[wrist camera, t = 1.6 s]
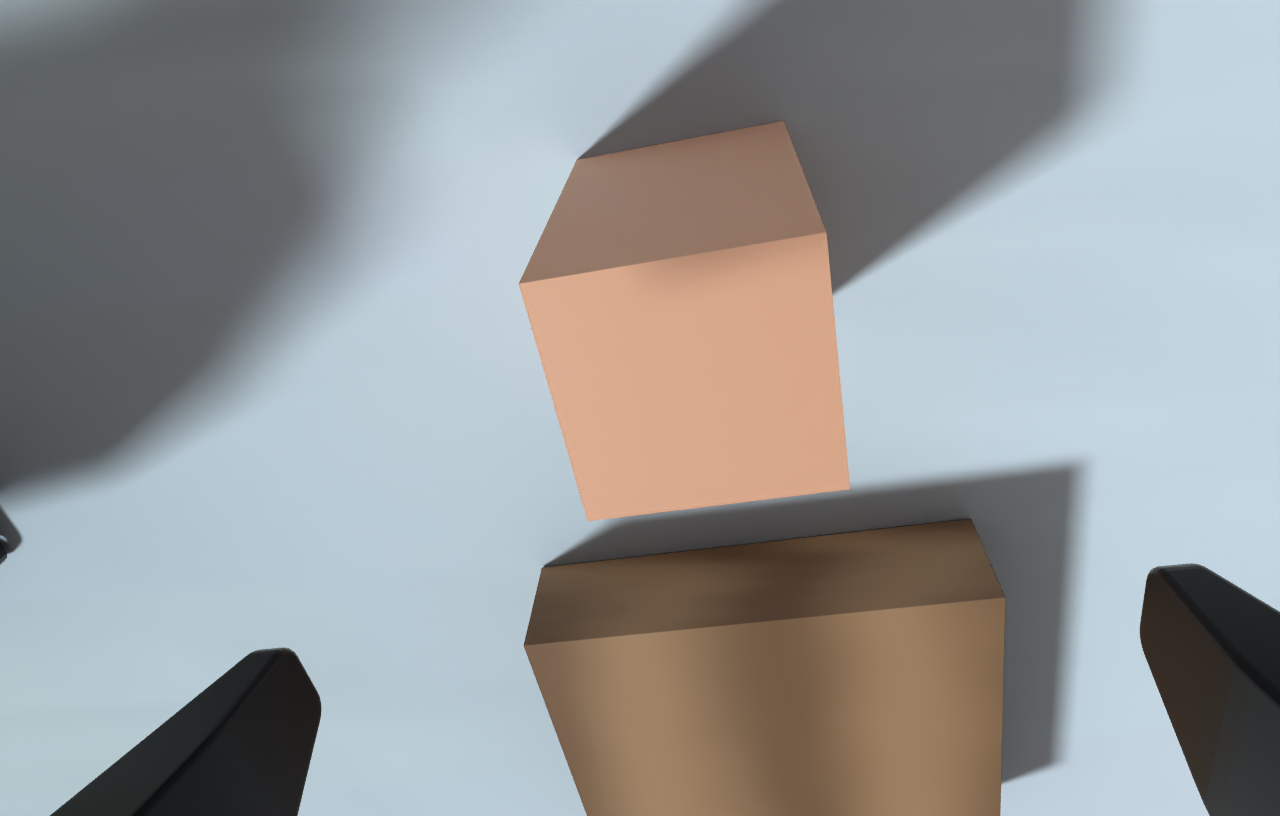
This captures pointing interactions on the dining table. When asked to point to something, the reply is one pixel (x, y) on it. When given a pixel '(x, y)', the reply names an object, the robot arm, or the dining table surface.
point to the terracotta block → (690, 326)
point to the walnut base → (780, 676)
